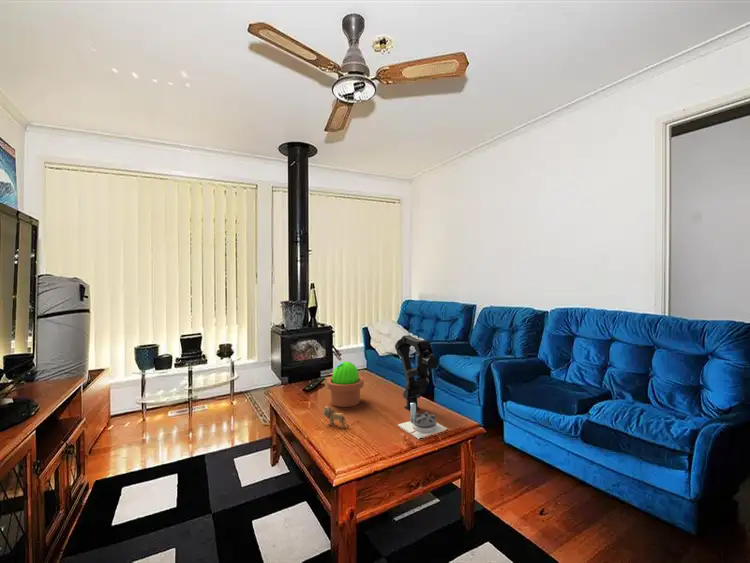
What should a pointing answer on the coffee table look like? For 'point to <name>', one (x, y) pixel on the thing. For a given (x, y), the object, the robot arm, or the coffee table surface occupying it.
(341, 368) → the potted cactus
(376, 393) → the coffee table surface
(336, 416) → the lion figurine
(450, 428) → the coffee table surface
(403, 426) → the mounting plate
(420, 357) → the robot arm
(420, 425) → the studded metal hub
